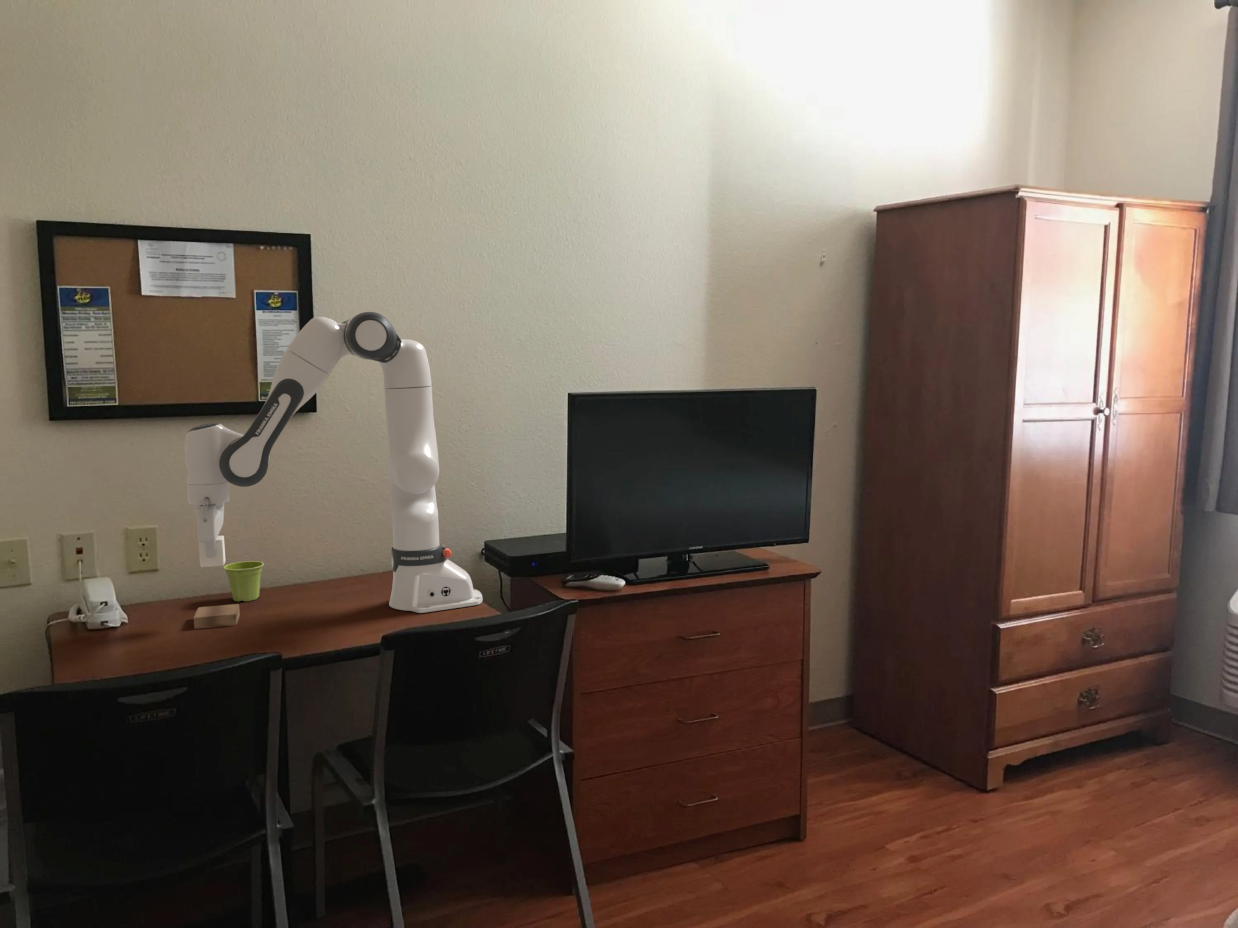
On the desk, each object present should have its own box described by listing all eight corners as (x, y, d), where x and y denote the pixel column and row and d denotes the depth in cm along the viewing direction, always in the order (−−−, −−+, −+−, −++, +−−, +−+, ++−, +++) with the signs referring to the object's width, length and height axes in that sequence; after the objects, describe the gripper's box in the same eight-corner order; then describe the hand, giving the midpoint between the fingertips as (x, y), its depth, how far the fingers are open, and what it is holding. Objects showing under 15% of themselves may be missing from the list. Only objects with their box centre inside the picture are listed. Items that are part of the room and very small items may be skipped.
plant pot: (218, 599, 255) (216, 565, 253) (253, 592, 262) (251, 559, 260) (238, 606, 249) (235, 571, 247) (273, 597, 256) (271, 564, 254)
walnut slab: (239, 616, 241) (239, 603, 241) (236, 626, 233) (235, 613, 232) (199, 619, 239) (198, 607, 238) (194, 630, 230) (193, 617, 230)
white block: (225, 560, 237) (223, 535, 236) (223, 565, 232) (222, 539, 231) (202, 562, 235) (200, 537, 235) (200, 567, 231) (198, 541, 230)
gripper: (219, 501, 223) (223, 562, 224) (227, 487, 242) (230, 544, 244) (188, 502, 221) (192, 565, 223) (198, 488, 240) (202, 546, 242)
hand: (212, 554), depth 233 cm, fingers closed on white block, 5 cm apart
